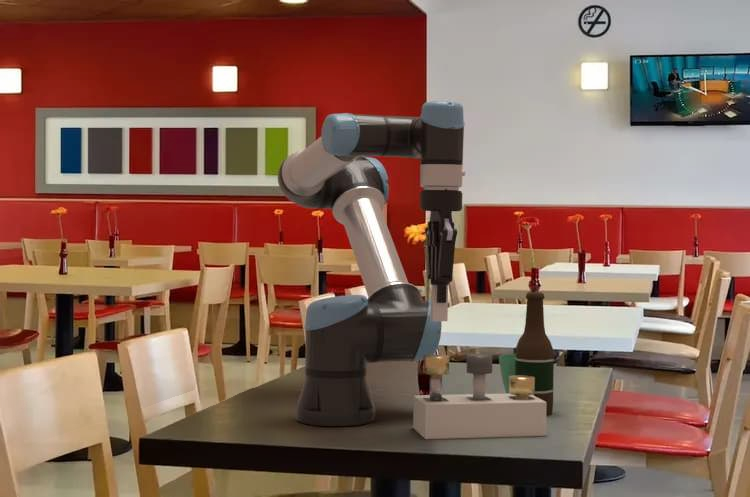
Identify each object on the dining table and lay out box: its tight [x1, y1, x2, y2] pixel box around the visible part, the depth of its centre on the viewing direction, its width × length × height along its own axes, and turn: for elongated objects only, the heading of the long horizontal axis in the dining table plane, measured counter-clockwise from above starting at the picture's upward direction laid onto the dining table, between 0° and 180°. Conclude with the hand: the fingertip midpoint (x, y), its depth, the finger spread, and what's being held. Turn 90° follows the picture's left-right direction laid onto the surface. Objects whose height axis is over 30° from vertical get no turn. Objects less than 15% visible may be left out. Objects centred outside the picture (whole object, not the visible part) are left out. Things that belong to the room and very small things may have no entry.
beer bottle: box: [514, 291, 555, 416], centre depth 214 cm, size 8×8×24 cm
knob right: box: [509, 375, 535, 400], centre depth 196 cm, size 5×5×8 cm
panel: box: [412, 393, 547, 440], centre depth 195 cm, size 22×10×6 cm, turn 100°
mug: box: [498, 353, 515, 394], centre depth 226 cm, size 15×10×10 cm
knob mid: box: [466, 353, 493, 401], centre depth 195 cm, size 5×5×8 cm
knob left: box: [422, 354, 450, 402], centre depth 193 cm, size 5×5×8 cm
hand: (439, 320), depth 194 cm, fingers closed
